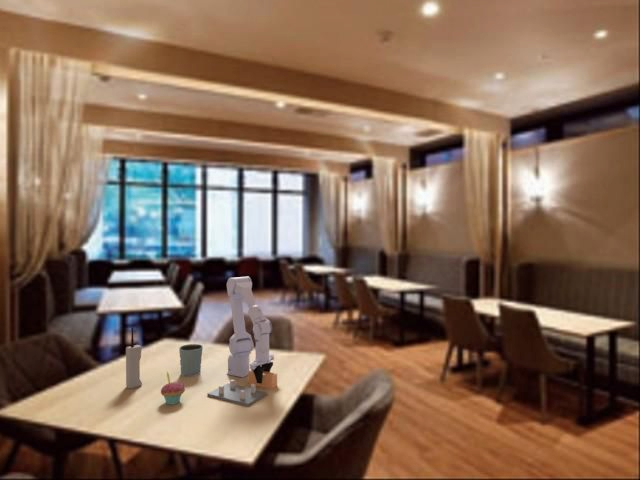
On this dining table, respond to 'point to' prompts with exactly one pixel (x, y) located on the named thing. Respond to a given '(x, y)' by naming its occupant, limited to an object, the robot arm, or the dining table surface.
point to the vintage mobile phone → (133, 365)
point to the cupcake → (172, 391)
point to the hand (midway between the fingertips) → (262, 381)
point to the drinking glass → (190, 359)
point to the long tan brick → (263, 379)
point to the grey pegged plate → (237, 394)
